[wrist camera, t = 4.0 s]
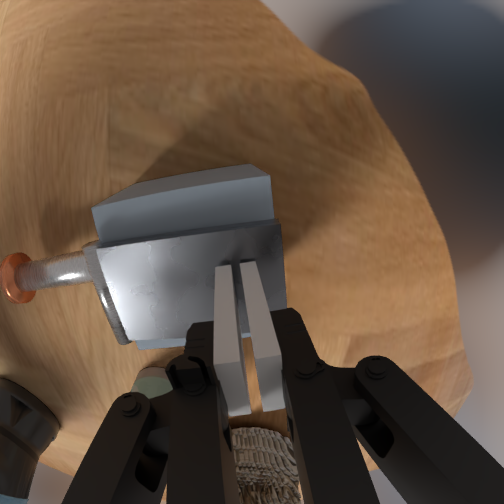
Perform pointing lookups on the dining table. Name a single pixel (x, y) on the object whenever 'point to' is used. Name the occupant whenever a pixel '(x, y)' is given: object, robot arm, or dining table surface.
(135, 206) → the block
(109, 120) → the dining table surface
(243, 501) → the sculpture
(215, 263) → the keeper plate
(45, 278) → the lynch pin
